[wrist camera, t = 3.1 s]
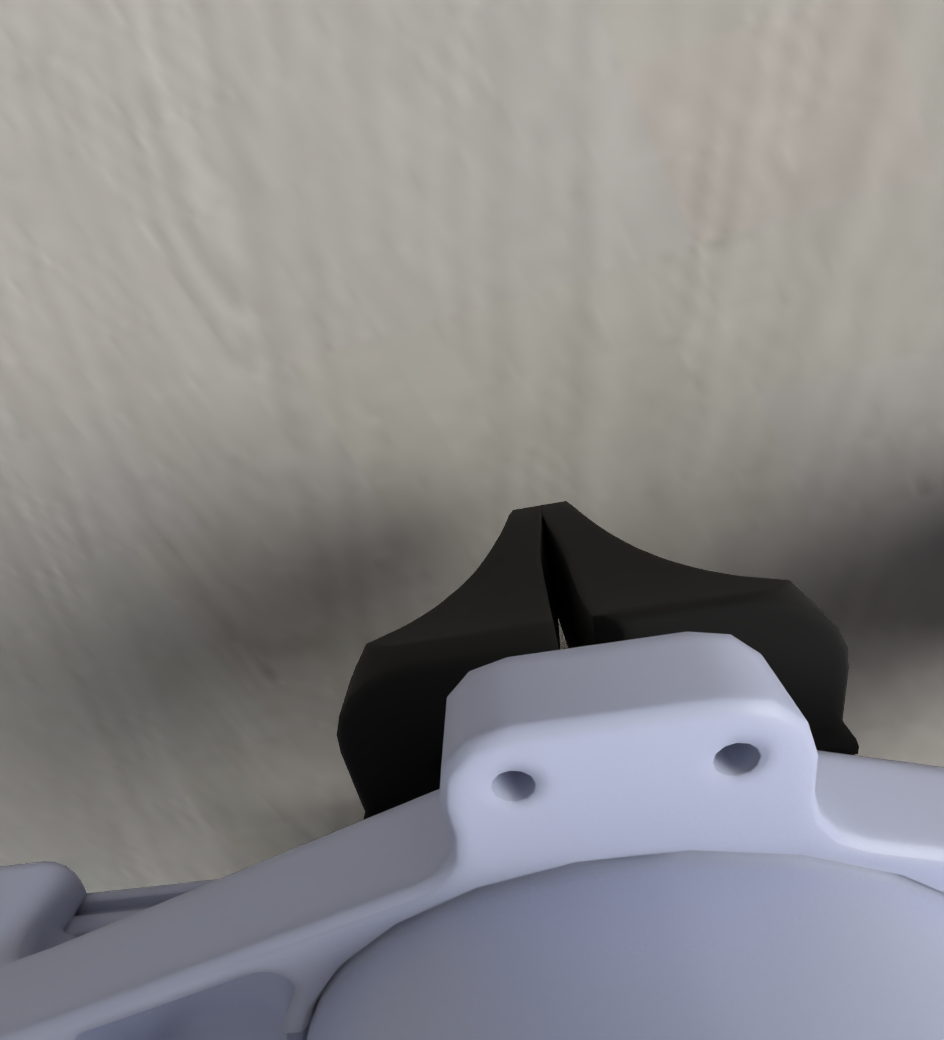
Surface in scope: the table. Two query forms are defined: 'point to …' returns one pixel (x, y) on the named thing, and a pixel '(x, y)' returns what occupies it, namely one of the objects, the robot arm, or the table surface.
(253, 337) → the table surface
